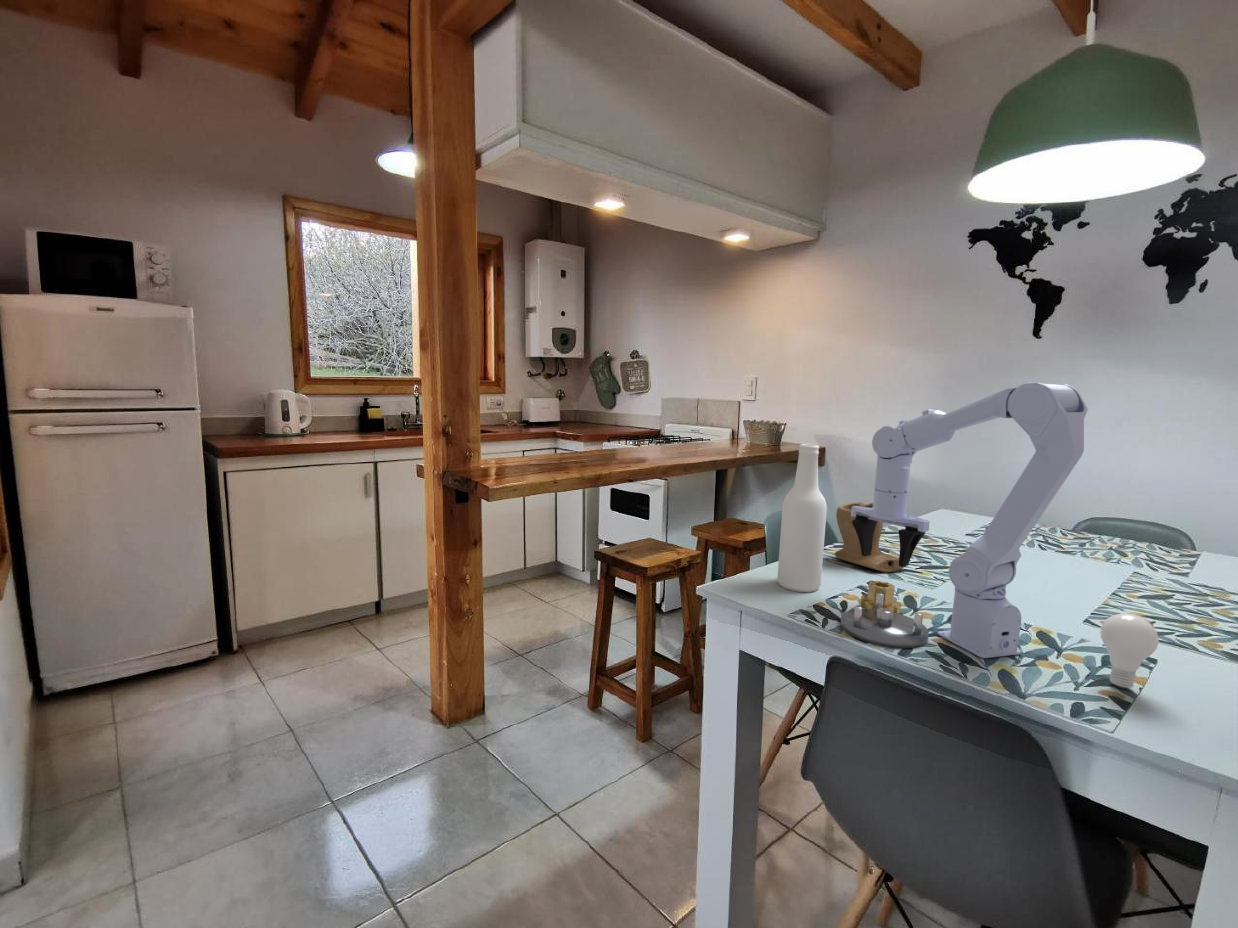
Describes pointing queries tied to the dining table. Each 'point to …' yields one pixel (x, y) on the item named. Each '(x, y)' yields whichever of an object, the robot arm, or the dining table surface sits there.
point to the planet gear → (888, 598)
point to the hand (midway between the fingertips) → (884, 560)
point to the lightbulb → (1127, 646)
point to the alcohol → (803, 527)
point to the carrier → (885, 626)
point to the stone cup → (852, 544)
